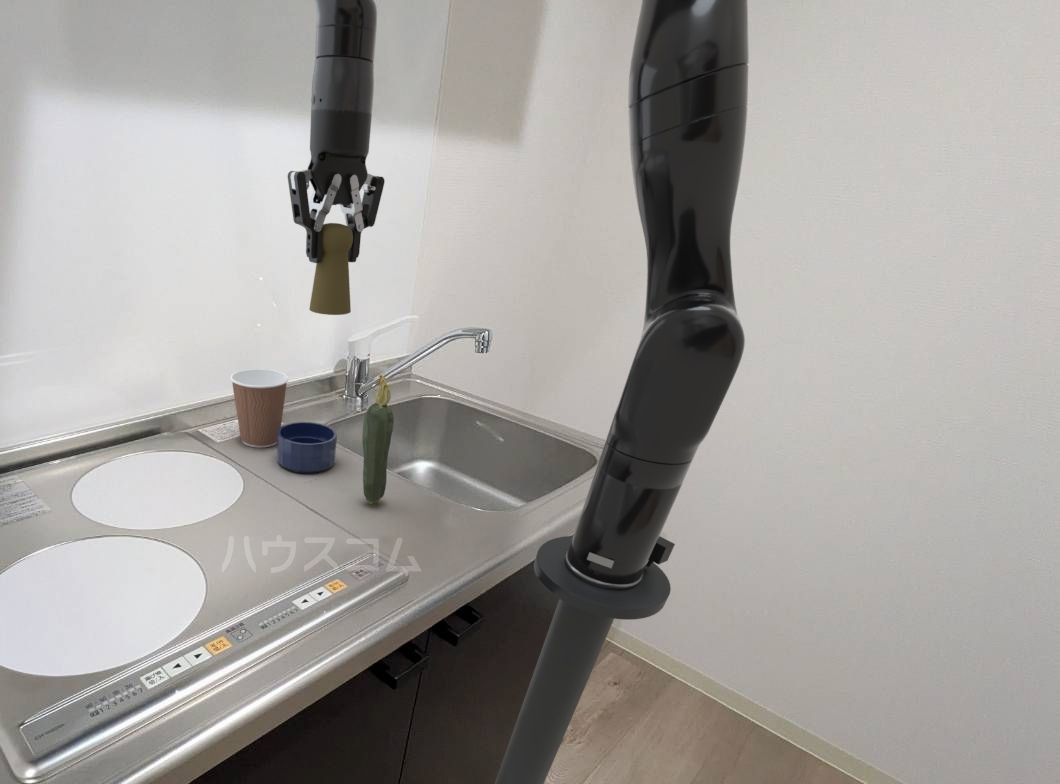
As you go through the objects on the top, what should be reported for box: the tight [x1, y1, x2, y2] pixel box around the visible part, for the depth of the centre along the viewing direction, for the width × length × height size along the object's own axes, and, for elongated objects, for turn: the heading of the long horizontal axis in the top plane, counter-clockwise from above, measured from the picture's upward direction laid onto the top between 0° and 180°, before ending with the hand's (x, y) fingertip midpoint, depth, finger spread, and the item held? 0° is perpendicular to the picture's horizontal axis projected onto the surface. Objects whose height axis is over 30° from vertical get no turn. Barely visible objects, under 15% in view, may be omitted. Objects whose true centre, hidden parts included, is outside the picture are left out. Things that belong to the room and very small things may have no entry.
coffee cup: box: [229, 368, 290, 449], centre depth 106 cm, size 10×10×12 cm
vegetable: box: [362, 374, 395, 505], centre depth 85 cm, size 4×4×20 cm
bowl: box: [276, 421, 338, 474], centre depth 101 cm, size 10×10×6 cm
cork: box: [308, 222, 353, 316], centre depth 81 cm, size 6×6×11 cm
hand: (332, 261), depth 81 cm, fingers closed on cork, 5 cm apart
